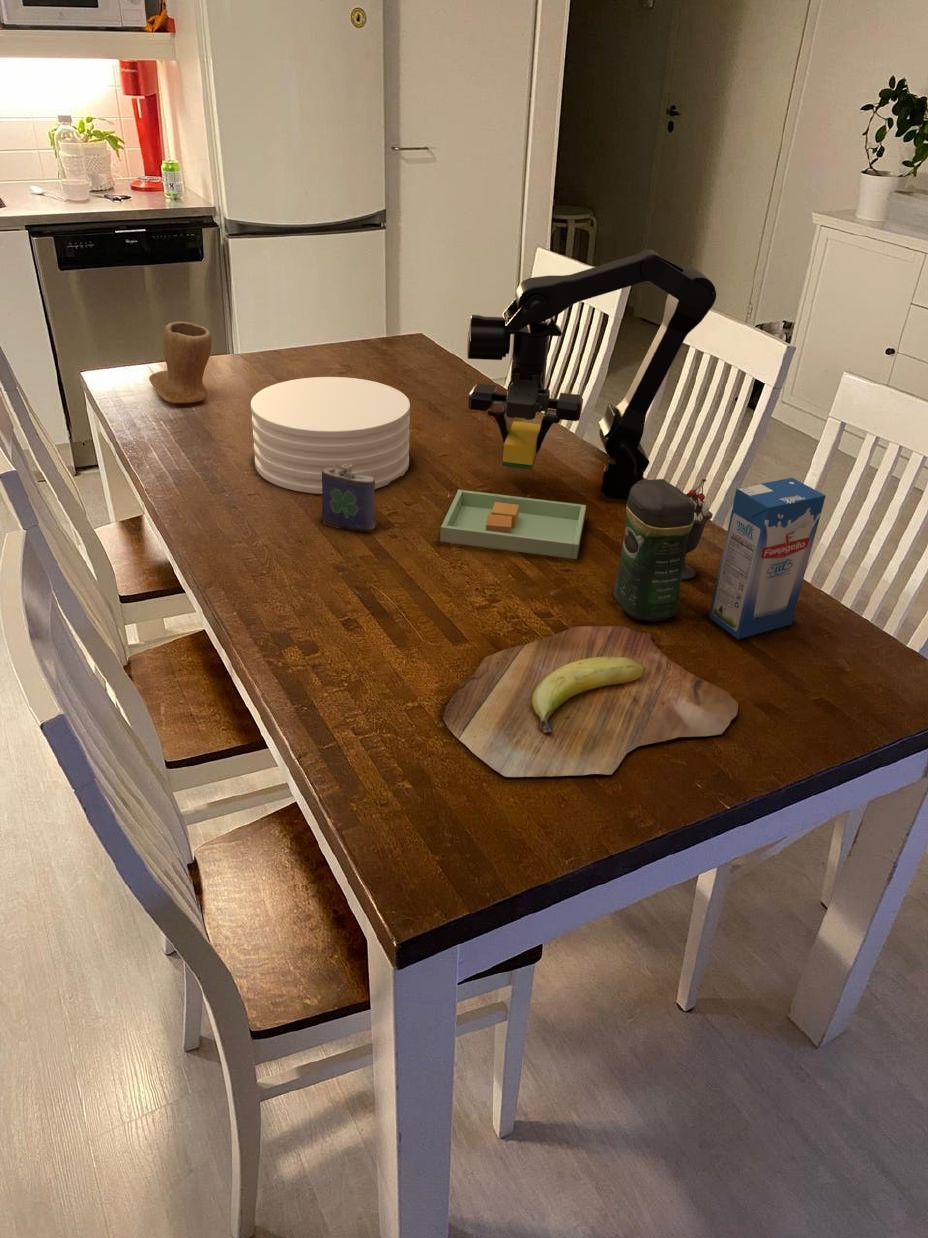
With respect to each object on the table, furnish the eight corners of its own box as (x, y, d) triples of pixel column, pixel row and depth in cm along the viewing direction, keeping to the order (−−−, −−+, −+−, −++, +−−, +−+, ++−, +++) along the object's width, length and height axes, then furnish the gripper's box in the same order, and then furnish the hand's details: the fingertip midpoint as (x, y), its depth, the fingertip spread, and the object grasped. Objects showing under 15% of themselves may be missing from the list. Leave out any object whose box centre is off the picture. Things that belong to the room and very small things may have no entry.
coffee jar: (684, 620, 137) (708, 501, 128) (633, 627, 135) (653, 506, 125) (653, 586, 145) (673, 471, 135) (605, 592, 143) (621, 475, 133)
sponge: (539, 445, 172) (541, 424, 170) (531, 469, 163) (533, 447, 161) (511, 442, 173) (513, 421, 171) (502, 466, 164) (504, 443, 162)
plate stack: (224, 474, 172) (218, 412, 166) (304, 424, 194) (302, 368, 188) (366, 506, 164) (365, 442, 158) (433, 450, 186) (434, 392, 180)
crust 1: (518, 518, 161) (519, 504, 160) (514, 528, 158) (515, 515, 157) (494, 515, 162) (495, 501, 161) (490, 525, 159) (491, 512, 157)
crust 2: (511, 529, 158) (512, 515, 156) (510, 540, 154) (511, 526, 153) (486, 527, 158) (487, 513, 157) (485, 538, 155) (485, 524, 153)
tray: (584, 521, 163) (586, 504, 161) (576, 562, 151) (578, 544, 149) (457, 505, 166) (458, 489, 164) (439, 544, 154) (440, 526, 152)
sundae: (703, 566, 152) (721, 477, 144) (697, 586, 146) (715, 494, 138) (661, 557, 153) (676, 469, 145) (653, 577, 148) (669, 486, 140)
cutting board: (618, 613, 138) (621, 590, 136) (763, 717, 119) (770, 692, 117) (404, 684, 121) (404, 659, 119) (533, 818, 102) (536, 790, 100)
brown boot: (222, 403, 202) (216, 331, 194) (164, 410, 197) (155, 336, 189) (204, 381, 213) (198, 311, 205) (149, 387, 209) (140, 316, 201)
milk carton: (737, 639, 134) (768, 507, 123) (708, 617, 139) (735, 488, 128) (791, 624, 138) (826, 495, 127) (761, 603, 143) (792, 477, 132)
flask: (377, 528, 157) (377, 466, 152) (369, 535, 155) (368, 473, 149) (327, 516, 160) (324, 455, 154) (318, 523, 158) (315, 462, 152)
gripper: (464, 369, 154) (459, 461, 162) (582, 381, 151) (571, 474, 160) (476, 349, 163) (471, 437, 171) (587, 360, 161) (577, 449, 169)
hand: (521, 450), depth 168 cm, fingers closed on sponge, 5 cm apart
